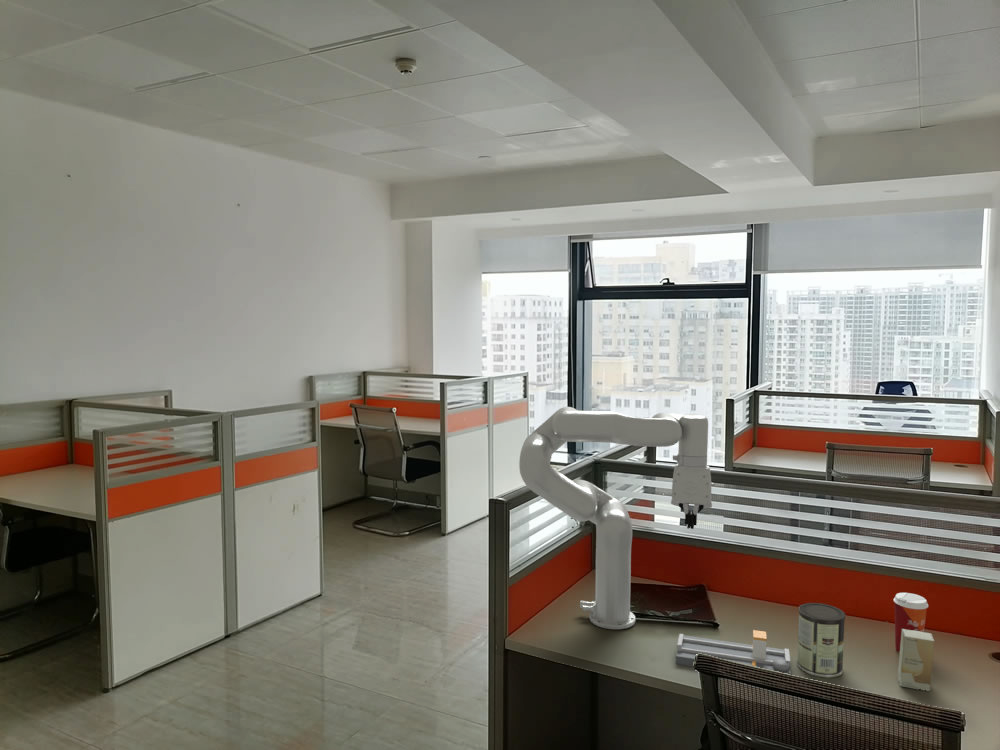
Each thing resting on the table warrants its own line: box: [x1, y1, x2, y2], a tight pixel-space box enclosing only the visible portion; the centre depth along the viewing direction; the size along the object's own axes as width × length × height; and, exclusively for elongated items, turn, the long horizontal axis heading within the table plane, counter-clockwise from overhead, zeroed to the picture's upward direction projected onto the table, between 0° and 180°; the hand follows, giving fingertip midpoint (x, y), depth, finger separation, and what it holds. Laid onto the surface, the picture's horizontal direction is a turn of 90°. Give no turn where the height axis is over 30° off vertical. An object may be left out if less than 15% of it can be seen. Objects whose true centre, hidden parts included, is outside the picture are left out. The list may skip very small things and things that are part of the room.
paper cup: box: [893, 592, 929, 654], centre depth 185 cm, size 8×8×14 cm
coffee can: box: [796, 602, 846, 679], centre depth 177 cm, size 10×10×14 cm
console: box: [675, 633, 791, 675], centre depth 180 cm, size 26×12×4 cm, turn 71°
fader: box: [752, 629, 767, 660], centre depth 178 cm, size 3×4×6 cm
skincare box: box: [897, 629, 935, 692], centre depth 169 cm, size 6×4×12 cm
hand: (690, 527), depth 199 cm, fingers closed
